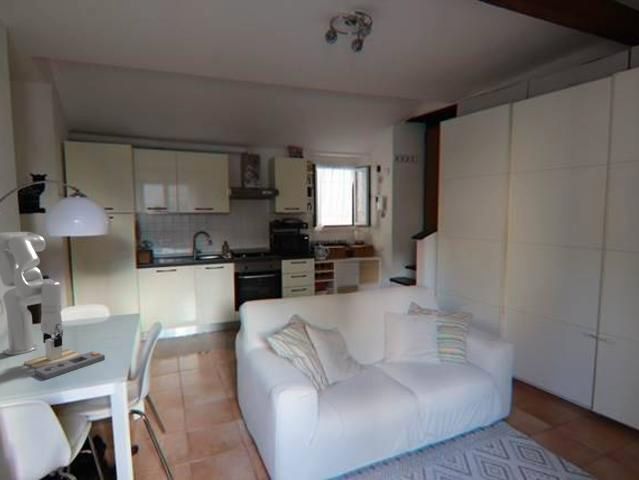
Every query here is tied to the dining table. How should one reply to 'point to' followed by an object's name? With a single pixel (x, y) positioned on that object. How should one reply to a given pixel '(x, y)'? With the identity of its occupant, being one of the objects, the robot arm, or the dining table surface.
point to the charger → (52, 350)
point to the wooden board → (44, 362)
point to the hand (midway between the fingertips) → (52, 344)
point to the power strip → (69, 365)
